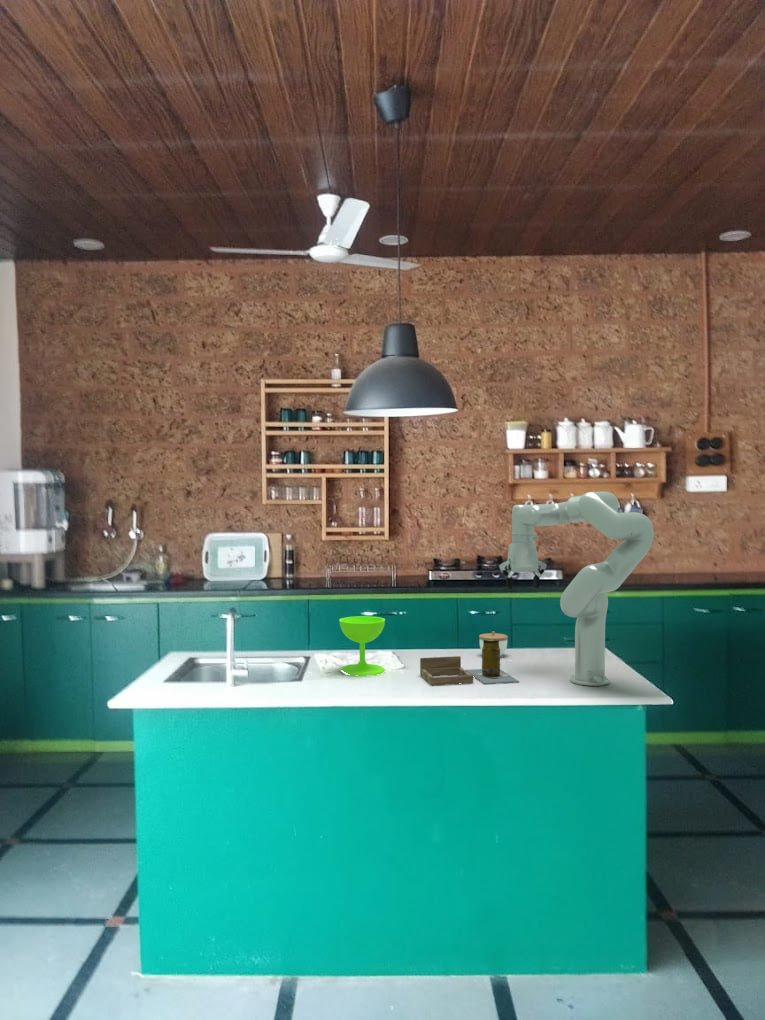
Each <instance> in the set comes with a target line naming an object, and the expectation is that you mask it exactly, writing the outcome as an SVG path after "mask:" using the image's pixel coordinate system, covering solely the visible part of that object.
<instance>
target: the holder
mask: <svg viewBox="0 0 765 1020" xmlns="http://www.w3.org/2000/svg"><path fill="white" fill-rule="evenodd" d="M461 657H462V656H459V655H456V656H436V657H435V656H434V657H420V658H419V668H420V669H419V672H420V673H419V675H421V676H422V677H423V680H425V682H426V683H428V682H429V683H430V684H431V685H436V686H446V685H445V684H455V685H460V684H459V683H473V684H474V677H473V675H471V674H470V673H468V672H467V671H466V670H467V669H464V668H463V667H461V664H462V663H461V659H462V658H461ZM456 674H459V675H460V676H459V675H456ZM440 675H448V676H440ZM421 676H420V677H421ZM422 677H421V678H422ZM429 683H428V684H429ZM430 684H429V685H430ZM431 685H430V686H431Z"/></svg>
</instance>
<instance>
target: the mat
mask: <svg viewBox="0 0 765 1020" xmlns="http://www.w3.org/2000/svg"><path fill="white" fill-rule="evenodd" d="M465 670H466V671H467V672H468V673H470V674H471V675H473V676H474V677H475V678H474V677H473V678H474V679H476V680H477V679H478V680H479V682H480V681H481V682H482V683H481V682H480V683H481V684H482V685H497V684H496V683H503V684H514V683H513V682H519V683H520V681H519V680H518V679H516V678H515V677H513V676H512V675H510V674H508V673H507V672H505V671H504V670H502V669H501V668H500V674H506V675H509V676H505V677H501V678H491V677H487V676H481V675H478V674H479V673H482V668H478V669H477V668H475V669H465ZM478 680H477V681H478ZM489 683H490V684H489Z"/></svg>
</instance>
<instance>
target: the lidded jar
mask: <svg viewBox="0 0 765 1020" xmlns="http://www.w3.org/2000/svg"><path fill="white" fill-rule="evenodd" d="M508 638H509V637H508V634H507V635H506V634H504V633H498V632H497V633H496V632H495V631H493V630H492V631H491V632H490V633H482V634H479V636H478V639H479V642H478V643H479V648H480V651H481V652H482V648H483V641H484V639H498V640H499V648H500V656H501V657H502V656H503V655H504V654H505V652H506V650H507V648H508Z"/></svg>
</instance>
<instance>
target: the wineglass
mask: <svg viewBox="0 0 765 1020" xmlns="http://www.w3.org/2000/svg"><path fill="white" fill-rule="evenodd" d="M338 621H339V627H340V629H341V632H342V633H343V635H344V636H345V637H346V638H347V639H349V640H350V641H352V642H355V643H358V644H359V661H358V663H352V664H348V665H343V666H342V667H341V668H340V669H341V670H343V671H344V672H346V673H348V674H350V675H358V676H357V677H368V676H367V675H374V676H378V675H377V674H380V675H382V674H381V673H383V672H384V671H385V672H386V669H385V668H384V667H383V666H381V665H379V664H374V663H367V661H366V643H370V642H372V641H374V640H375V639H377V638H378V637H379V636H380V634H381V633H382V632H383V629H385V625H386V624H385V623H386V619H385V618H383V617H379V616H370V615H368V616H365V615H360V616H359V615H358V616H347V617H342V618H339V619H338ZM385 672H384V673H385ZM384 673H383V674H384Z"/></svg>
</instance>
